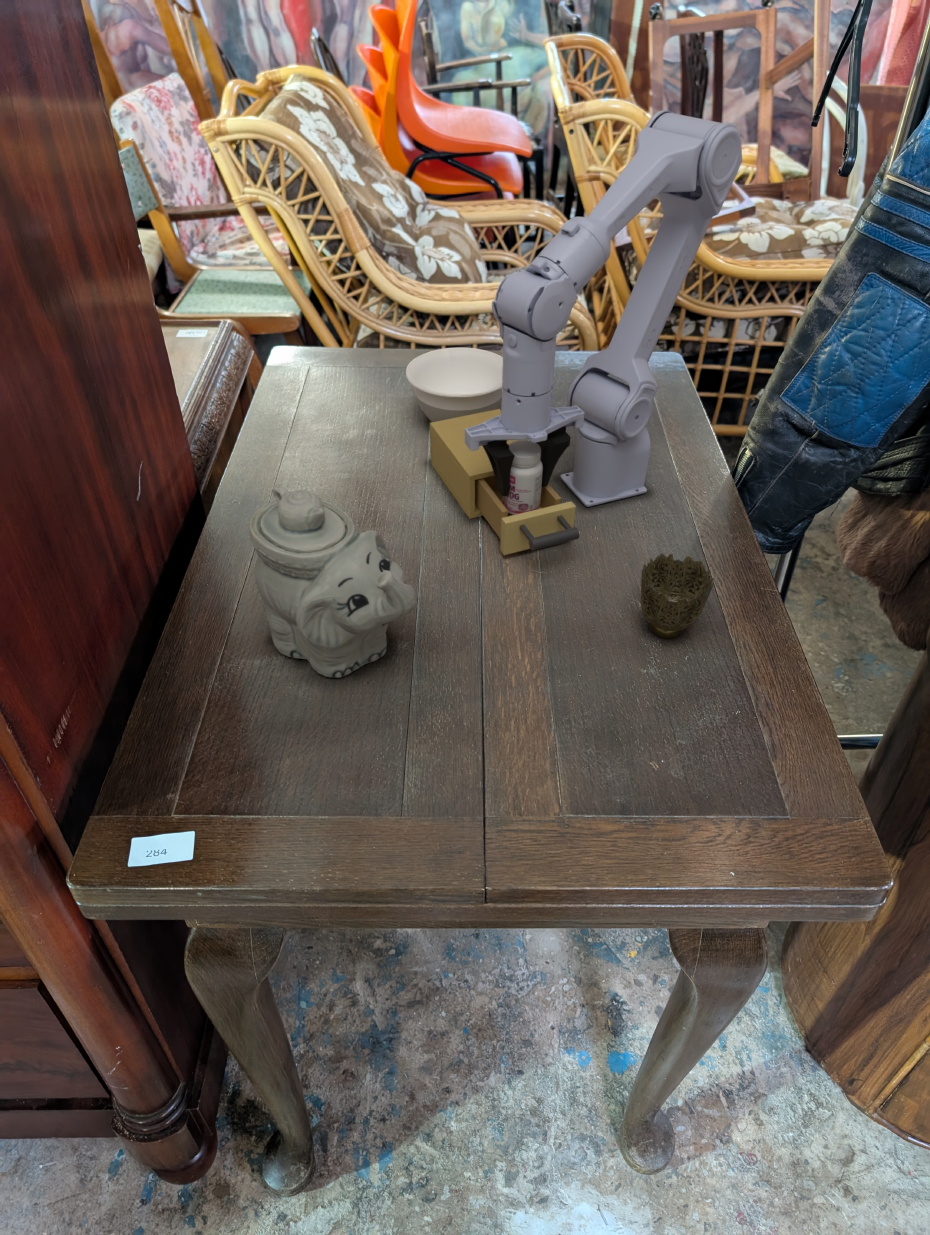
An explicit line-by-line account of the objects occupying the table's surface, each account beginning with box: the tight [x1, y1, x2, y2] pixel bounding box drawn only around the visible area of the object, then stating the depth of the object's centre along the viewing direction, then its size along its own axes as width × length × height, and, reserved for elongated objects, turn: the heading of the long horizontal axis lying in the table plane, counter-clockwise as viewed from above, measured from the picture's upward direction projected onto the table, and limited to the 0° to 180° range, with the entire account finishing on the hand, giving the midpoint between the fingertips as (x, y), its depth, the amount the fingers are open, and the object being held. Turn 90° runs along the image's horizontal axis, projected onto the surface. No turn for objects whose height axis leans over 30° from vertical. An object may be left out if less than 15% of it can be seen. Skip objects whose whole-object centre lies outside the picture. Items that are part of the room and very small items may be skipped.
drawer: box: [475, 476, 580, 556], centre depth 100 cm, size 18×9×5 cm, turn 22°
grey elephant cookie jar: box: [248, 484, 417, 679], centre depth 80 cm, size 16×15×19 cm
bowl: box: [405, 346, 503, 423], centre depth 120 cm, size 16×16×9 cm
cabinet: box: [429, 408, 519, 520], centre depth 108 cm, size 15×11×7 cm
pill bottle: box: [502, 440, 543, 515], centre depth 98 cm, size 5×5×8 cm
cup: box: [640, 552, 715, 639], centre depth 86 cm, size 8×7×8 cm
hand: (522, 487), depth 98 cm, fingers closed on pill bottle, 5 cm apart
